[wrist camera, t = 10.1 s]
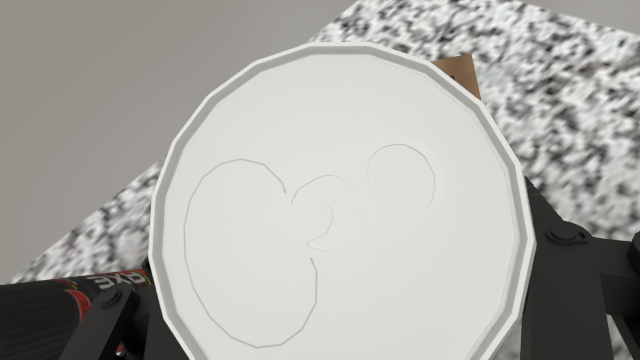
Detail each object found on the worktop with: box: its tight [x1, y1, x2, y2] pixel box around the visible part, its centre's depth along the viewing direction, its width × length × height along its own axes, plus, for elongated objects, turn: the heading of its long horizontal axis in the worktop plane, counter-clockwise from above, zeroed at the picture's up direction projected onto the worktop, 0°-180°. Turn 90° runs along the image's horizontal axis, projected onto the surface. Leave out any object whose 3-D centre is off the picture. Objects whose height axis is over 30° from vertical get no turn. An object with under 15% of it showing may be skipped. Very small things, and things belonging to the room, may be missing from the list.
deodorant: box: [0, 269, 154, 360], centre depth 22 cm, size 6×6×15 cm
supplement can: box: [148, 42, 537, 360], centre depth 13 cm, size 8×8×15 cm
